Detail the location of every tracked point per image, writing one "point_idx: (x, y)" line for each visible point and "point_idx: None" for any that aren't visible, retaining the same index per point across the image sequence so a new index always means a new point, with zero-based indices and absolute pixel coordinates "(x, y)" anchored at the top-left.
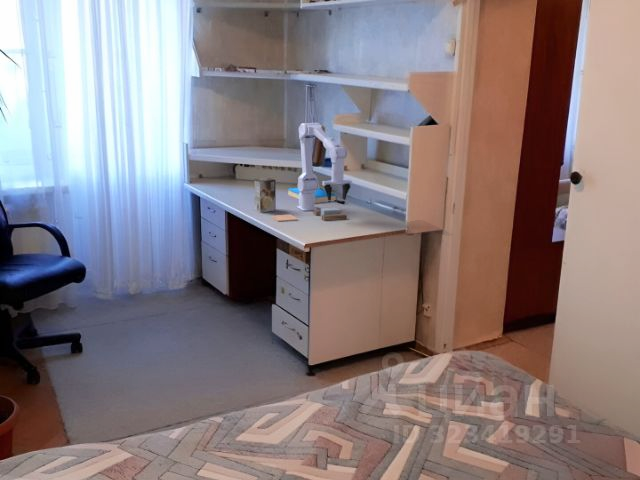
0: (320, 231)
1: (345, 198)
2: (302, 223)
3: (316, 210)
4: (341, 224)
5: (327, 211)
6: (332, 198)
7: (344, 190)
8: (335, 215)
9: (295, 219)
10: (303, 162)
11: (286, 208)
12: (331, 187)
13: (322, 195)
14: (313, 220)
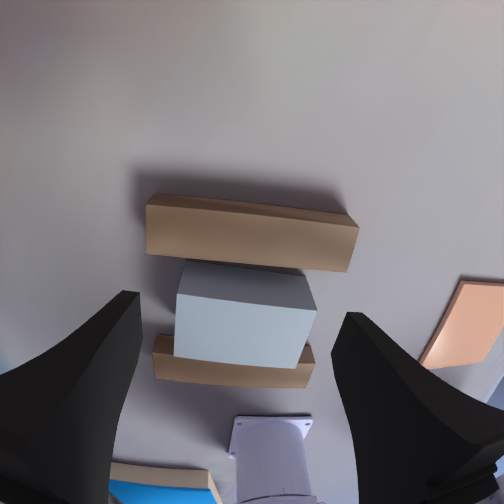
0: (492, 13)
1: (115, 296)
2: (484, 213)
3: (295, 379)
4: (289, 56)
5: (287, 303)
6: (112, 471)
7: (94, 410)
8: (250, 226)
9: (472, 284)
10: None
11: (340, 446)
12: (487, 440)
13: (150, 491)
14: (401, 249)
